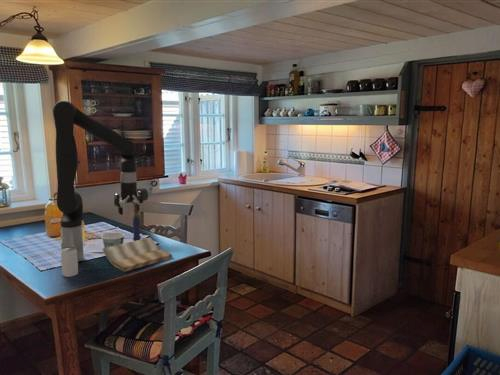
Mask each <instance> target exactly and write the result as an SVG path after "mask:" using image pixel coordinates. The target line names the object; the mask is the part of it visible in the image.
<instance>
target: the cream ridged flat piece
mask: <svg viewBox="0 0 500 375" xmlns="http://www.w3.org/2000/svg"><path fill="white" fill-rule="evenodd" d="M160 249H161V248H160V247H159V246H158V244H156V243H155V241H154V240H153V239H152V237H146V238H140V240H137V241H134V240H133V241H129V242H123V244H120V245H115V246H111V247H107V248H104V247H103V249H102V253H103V254H104V256H105V257H106V259H107V260H108V261H109V262H110V264H111V265H112V266H113V262H114V261H118V260H122V259H126V258H130V257H133V256H137V255H141V254H145V253H149V252H152V251H156V250H160Z"/></svg>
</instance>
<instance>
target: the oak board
mask: <svg viewBox="0 0 500 375" xmlns="http://www.w3.org/2000/svg"><path fill="white" fill-rule="evenodd" d="M172 258H173V253H170V252H168V251H165V250H163V249H161V248H160V250H156V251H152V252H149V253H145V254H141V255H137V256H133V257H130V258H126V259H122V260H118V261H114V262H113V265H112V266H113V267H115V268H116V269H118V270H120V271H121V272H125V273H126V272H129V271H133V270H136V269H138V268H142V267H146V266H150V265H153V264H156V263H160V262H164V261H167V260H170V259H171V260H172Z"/></svg>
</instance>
